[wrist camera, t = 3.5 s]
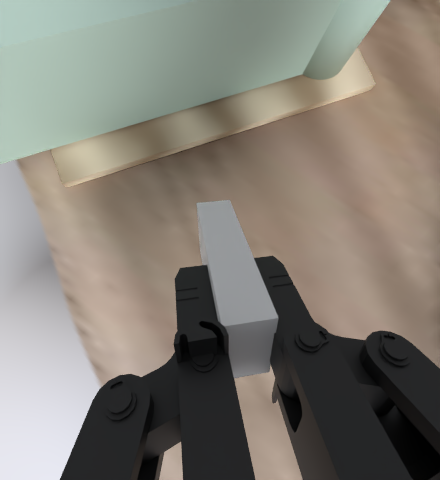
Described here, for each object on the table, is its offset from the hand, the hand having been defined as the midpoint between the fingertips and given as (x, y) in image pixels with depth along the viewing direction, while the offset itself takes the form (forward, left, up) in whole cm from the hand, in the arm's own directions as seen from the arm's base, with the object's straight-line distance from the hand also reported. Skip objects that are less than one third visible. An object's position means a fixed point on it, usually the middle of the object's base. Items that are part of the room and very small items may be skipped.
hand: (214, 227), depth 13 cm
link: (-2, -12, -6) cm, 13 cm away
